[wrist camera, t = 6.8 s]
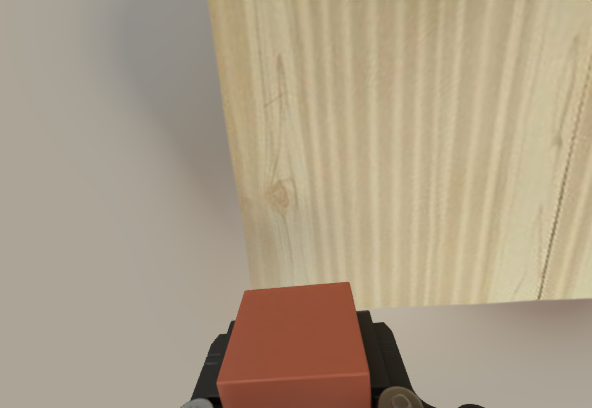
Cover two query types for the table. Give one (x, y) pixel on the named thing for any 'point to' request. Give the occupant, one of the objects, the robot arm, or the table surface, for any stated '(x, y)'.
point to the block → (296, 351)
